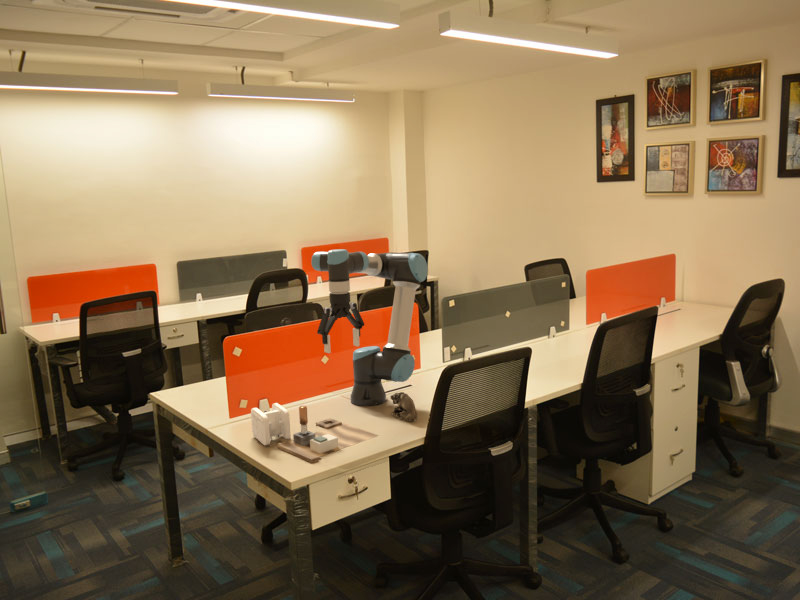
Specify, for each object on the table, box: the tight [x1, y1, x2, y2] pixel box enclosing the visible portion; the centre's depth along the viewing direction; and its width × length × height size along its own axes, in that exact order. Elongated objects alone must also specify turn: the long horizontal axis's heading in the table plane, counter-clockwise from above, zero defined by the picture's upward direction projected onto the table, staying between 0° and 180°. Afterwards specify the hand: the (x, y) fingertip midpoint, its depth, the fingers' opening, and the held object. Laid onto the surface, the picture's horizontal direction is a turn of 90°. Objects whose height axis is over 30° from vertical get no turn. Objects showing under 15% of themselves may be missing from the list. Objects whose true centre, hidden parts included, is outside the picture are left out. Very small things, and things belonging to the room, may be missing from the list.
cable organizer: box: [250, 402, 292, 446], centre depth 252 cm, size 15×11×12 cm
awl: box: [298, 405, 308, 436], centre depth 245 cm, size 3×3×13 cm
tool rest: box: [315, 417, 343, 429], centre depth 263 cm, size 7×7×2 cm
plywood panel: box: [277, 422, 379, 464], centre depth 247 cm, size 30×20×4 cm, turn 133°
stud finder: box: [310, 434, 338, 453], centre depth 239 cm, size 8×6×4 cm
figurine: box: [390, 391, 418, 422], centre depth 271 cm, size 6×14×10 cm, turn 29°
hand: (342, 349), depth 254 cm, fingers open, 13 cm apart
